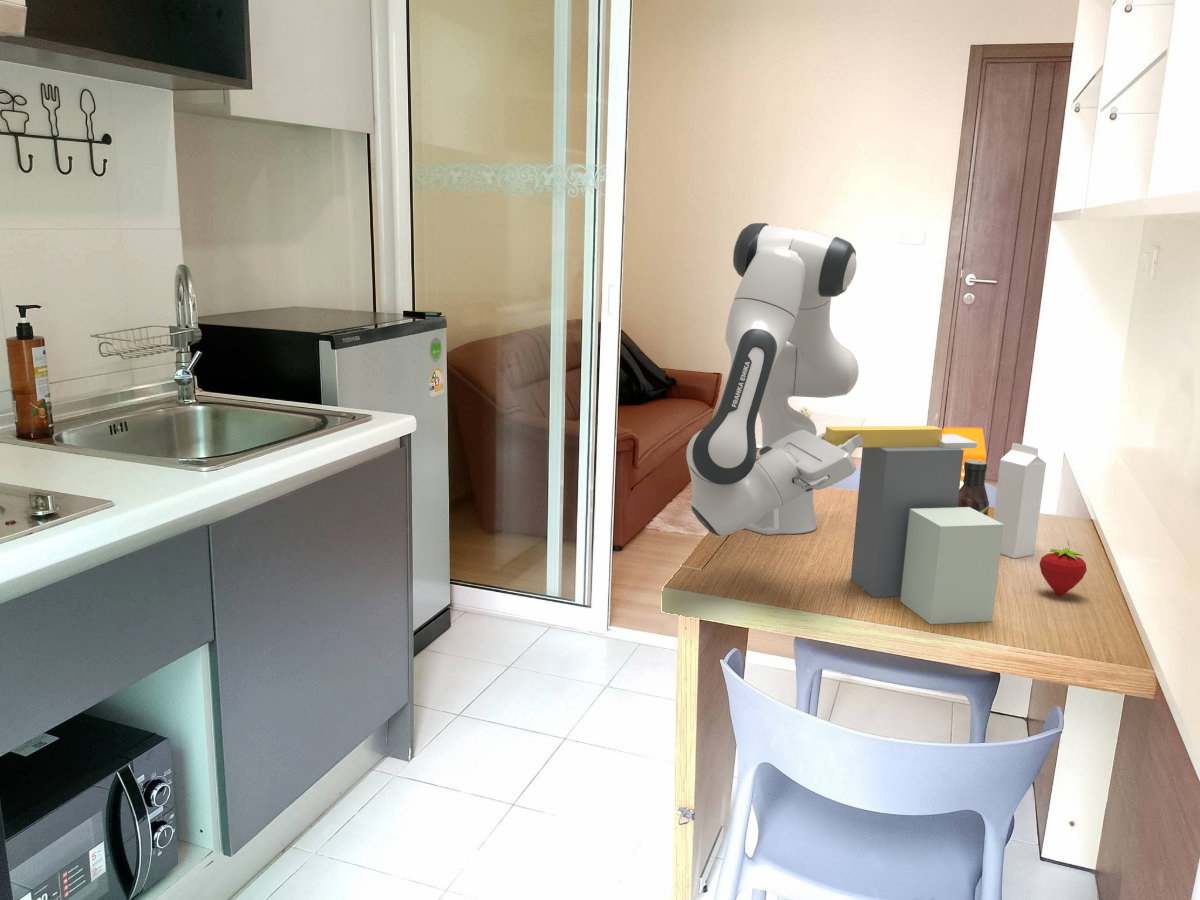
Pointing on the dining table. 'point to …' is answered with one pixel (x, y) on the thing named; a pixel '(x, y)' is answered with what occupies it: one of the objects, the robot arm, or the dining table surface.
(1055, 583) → the strawberry
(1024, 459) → the milk
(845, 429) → the plate
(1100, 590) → the dining table surface
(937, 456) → the tall stand
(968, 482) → the sauce bottle
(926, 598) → the sage green upright block
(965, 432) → the orange juice
